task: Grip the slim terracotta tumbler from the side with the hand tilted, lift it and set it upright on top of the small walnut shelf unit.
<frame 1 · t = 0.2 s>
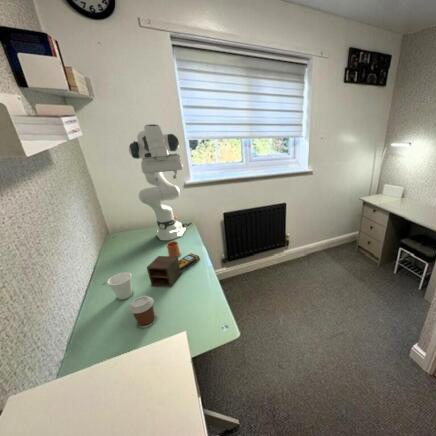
hand: (165, 179, 131), 52 cm above the table, tool tilted 20°, fingers open, 8 cm apart
electronic device: (185, 264, 146), on the table
coffee cup: (147, 322, 106), on the table
cup: (125, 296, 120), on the table
shelf: (166, 279, 132), on the table
tumbler: (174, 255, 155), on the table
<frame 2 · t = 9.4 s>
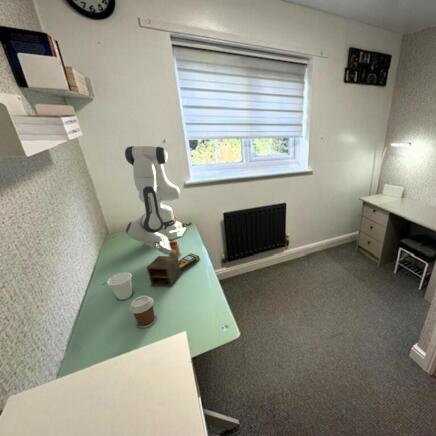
hand: (174, 249, 153), 5 cm above the table, tool tilted 45°, fingers closed on tumbler, 6 cm apart
tumbler: (174, 255, 155), on the table, touching gripper
everything else where it was.
when the fingers open (17 cm above the table, at t = 18.7 s): tumbler stays where it is, resting on shelf.
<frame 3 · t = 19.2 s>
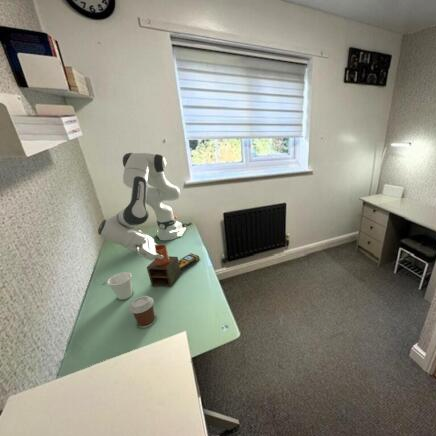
hand: (161, 253, 126), 17 cm above the table, tool tilted 45°, fingers open, 8 cm apart
tumbler: (162, 261, 127), point 12 cm above the table, touching shelf
everything else where it was.
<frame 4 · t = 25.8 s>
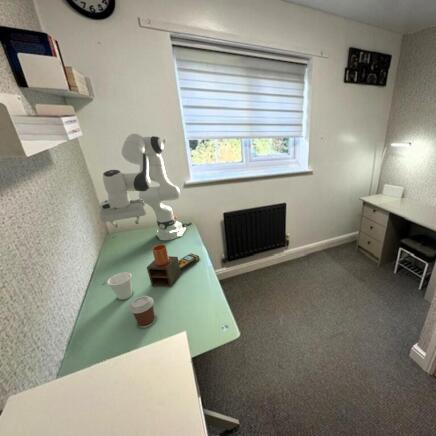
hand: (127, 225, 129), 29 cm above the table, tool pointing down, fingers open, 8 cm apart
nothing on the table moved.
at the end: tumbler inside the target area on the shelf (0.0 cm from its centre), point 12.0 cm above the shelf's base; tumbler tilted 0°; the gripper is holding nothing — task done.
